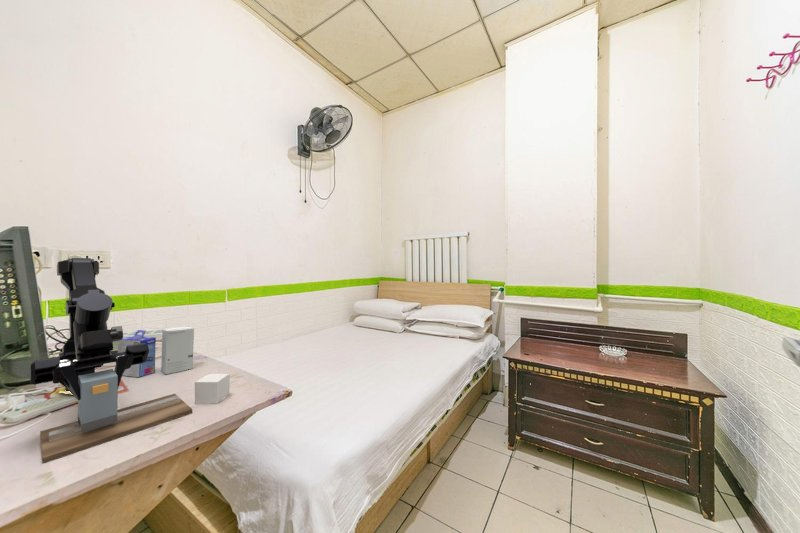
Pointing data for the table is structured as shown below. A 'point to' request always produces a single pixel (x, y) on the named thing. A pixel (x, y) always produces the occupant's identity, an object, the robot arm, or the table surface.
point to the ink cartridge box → (149, 365)
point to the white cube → (212, 388)
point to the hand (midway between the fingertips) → (98, 394)
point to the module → (97, 399)
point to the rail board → (111, 427)
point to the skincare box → (177, 349)
